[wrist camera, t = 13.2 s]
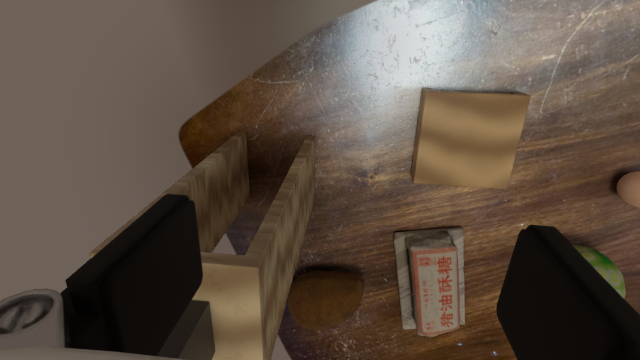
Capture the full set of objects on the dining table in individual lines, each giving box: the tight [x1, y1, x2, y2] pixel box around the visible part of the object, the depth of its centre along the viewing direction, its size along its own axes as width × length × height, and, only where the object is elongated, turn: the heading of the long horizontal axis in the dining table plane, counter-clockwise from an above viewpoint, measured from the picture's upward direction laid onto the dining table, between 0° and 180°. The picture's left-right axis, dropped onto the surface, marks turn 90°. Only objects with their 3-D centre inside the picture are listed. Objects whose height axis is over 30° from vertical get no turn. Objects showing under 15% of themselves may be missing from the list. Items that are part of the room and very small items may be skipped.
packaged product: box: [394, 227, 465, 337], centre depth 54 cm, size 18×5×10 cm
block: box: [157, 300, 215, 360], centre depth 21 cm, size 4×4×6 cm
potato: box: [288, 270, 364, 330], centre depth 54 cm, size 8×12×9 cm
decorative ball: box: [573, 245, 626, 298], centre depth 48 cm, size 10×10×10 cm
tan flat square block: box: [411, 88, 530, 189], centre depth 46 cm, size 12×12×3 cm
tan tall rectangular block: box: [89, 132, 316, 360], centre depth 38 cm, size 10×11×30 cm
